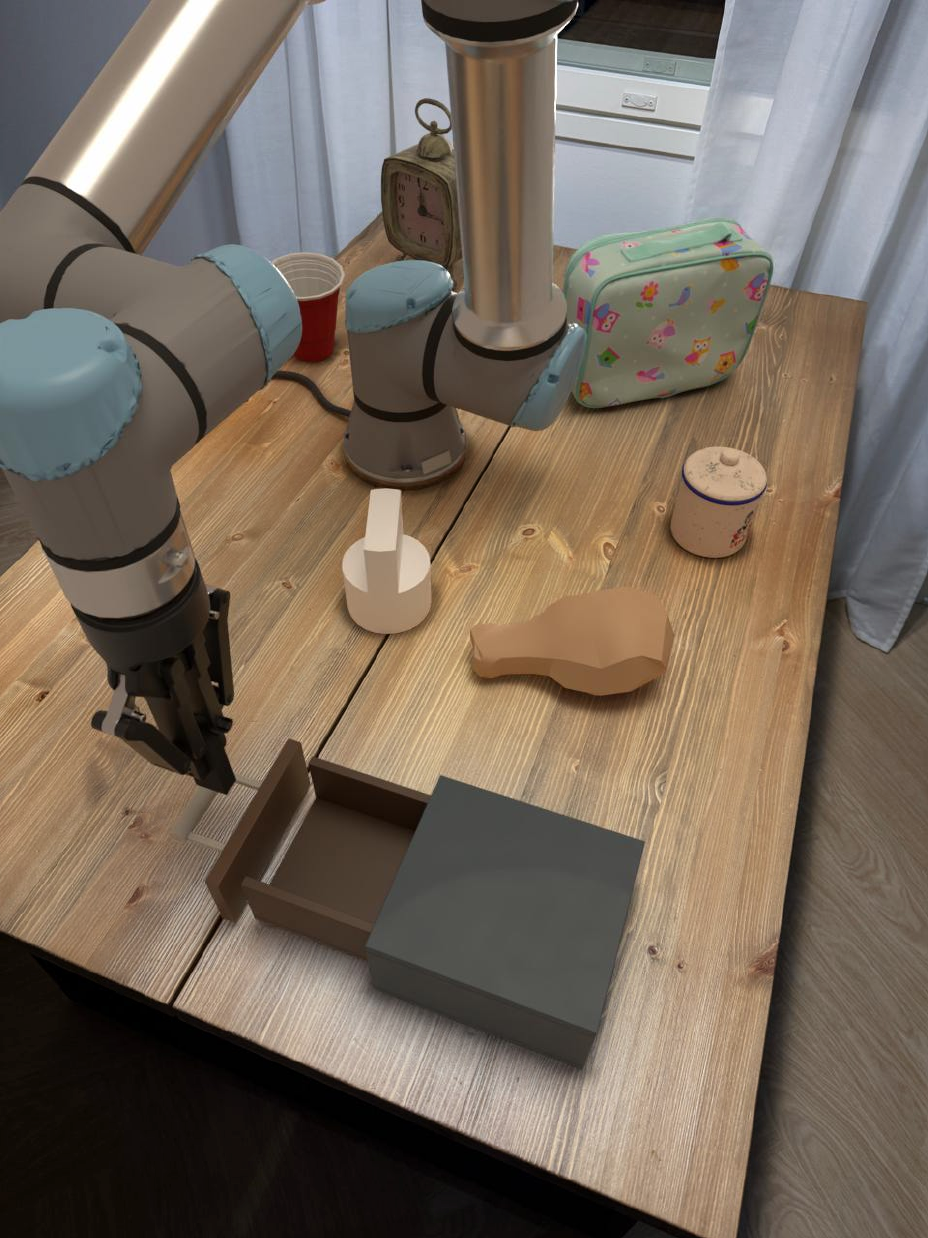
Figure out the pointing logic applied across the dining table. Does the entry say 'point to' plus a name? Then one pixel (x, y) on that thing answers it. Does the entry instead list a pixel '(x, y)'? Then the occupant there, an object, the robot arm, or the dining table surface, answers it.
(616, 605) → the squash
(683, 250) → the lunch box
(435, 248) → the tabletop clock
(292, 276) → the plastic cup
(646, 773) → the dining table surface
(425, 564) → the cylinder with rectangular tab
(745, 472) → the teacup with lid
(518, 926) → the cabinet
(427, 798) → the drawer
